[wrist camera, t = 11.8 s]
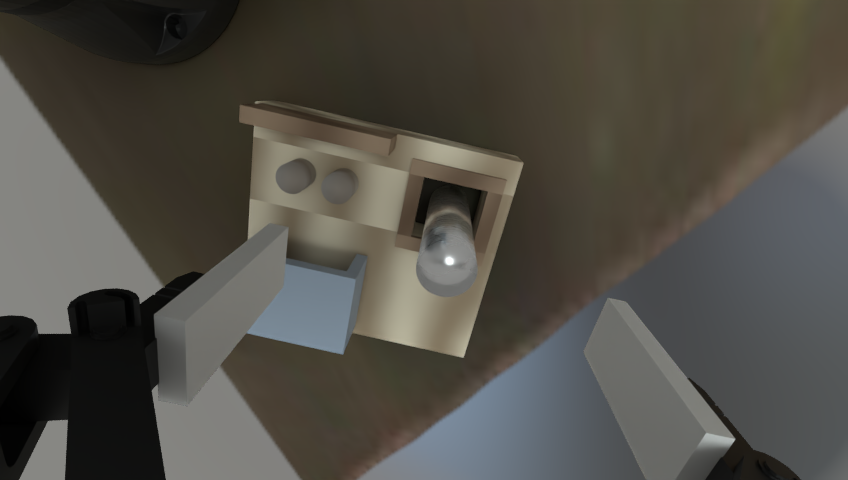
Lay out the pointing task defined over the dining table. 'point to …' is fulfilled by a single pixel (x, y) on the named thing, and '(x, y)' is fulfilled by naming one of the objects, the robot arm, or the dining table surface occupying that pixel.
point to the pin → (447, 244)
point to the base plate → (374, 211)
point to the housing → (314, 306)
